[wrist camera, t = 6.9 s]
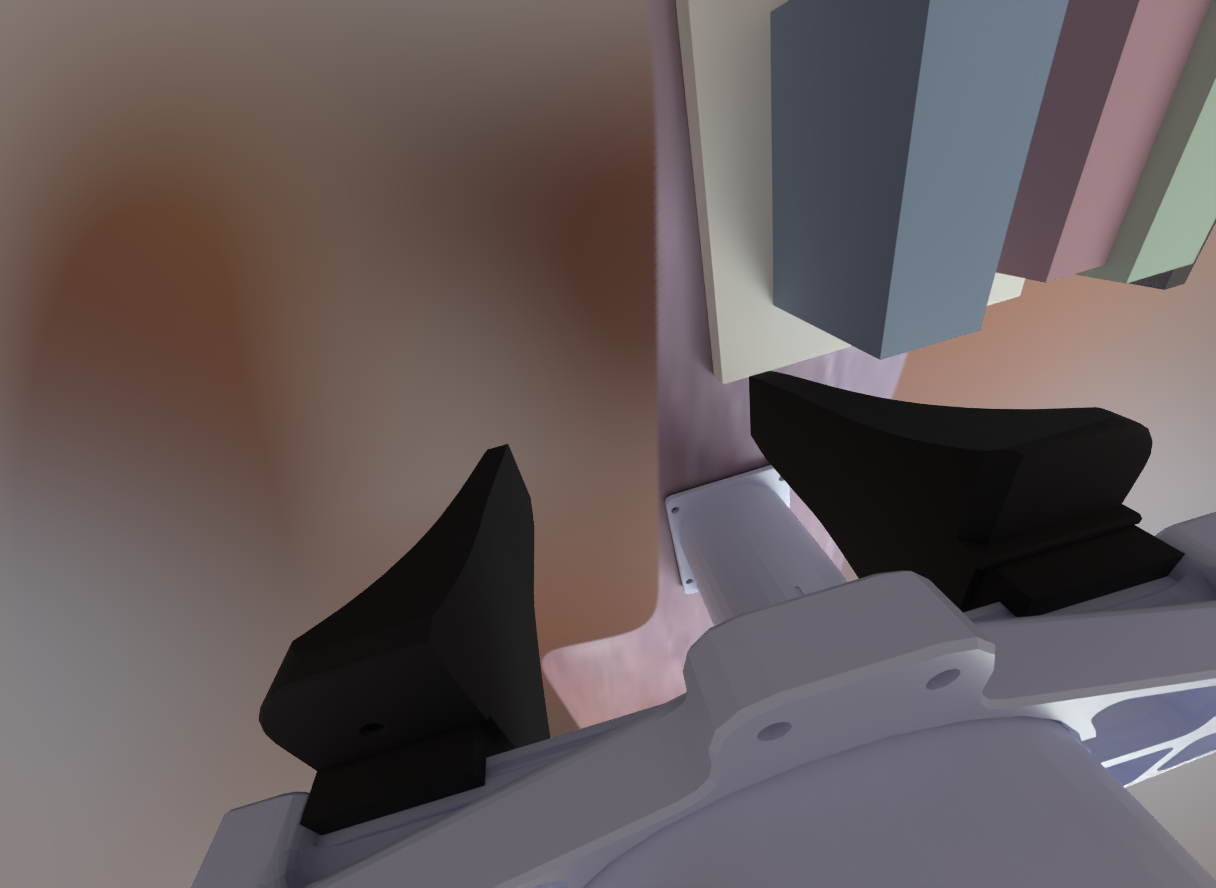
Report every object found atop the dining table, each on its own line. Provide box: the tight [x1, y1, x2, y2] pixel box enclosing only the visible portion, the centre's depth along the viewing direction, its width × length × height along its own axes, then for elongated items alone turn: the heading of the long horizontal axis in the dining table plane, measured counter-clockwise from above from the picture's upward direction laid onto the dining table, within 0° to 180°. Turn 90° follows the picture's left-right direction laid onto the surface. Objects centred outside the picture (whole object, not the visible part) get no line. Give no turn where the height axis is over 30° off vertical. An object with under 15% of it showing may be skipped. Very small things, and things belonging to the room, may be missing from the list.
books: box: [996, 0, 1216, 283], centre depth 15 cm, size 10×5×6 cm, turn 13°
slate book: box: [770, 0, 1069, 360], centre depth 14 cm, size 10×4×7 cm, turn 13°
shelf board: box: [676, 0, 1025, 384], centre depth 18 cm, size 16×16×1 cm
